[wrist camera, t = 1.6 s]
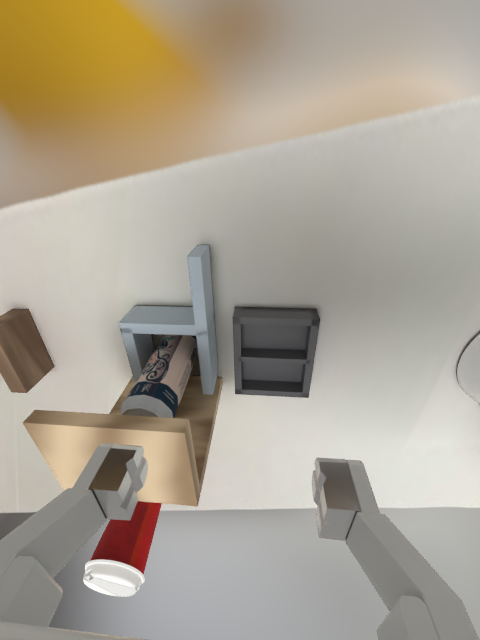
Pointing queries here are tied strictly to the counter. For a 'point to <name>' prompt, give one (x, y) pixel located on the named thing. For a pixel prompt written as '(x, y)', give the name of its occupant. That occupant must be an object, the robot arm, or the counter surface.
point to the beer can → (162, 379)
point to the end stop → (22, 351)
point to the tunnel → (136, 442)
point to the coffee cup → (123, 552)
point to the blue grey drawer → (178, 323)
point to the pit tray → (274, 350)
